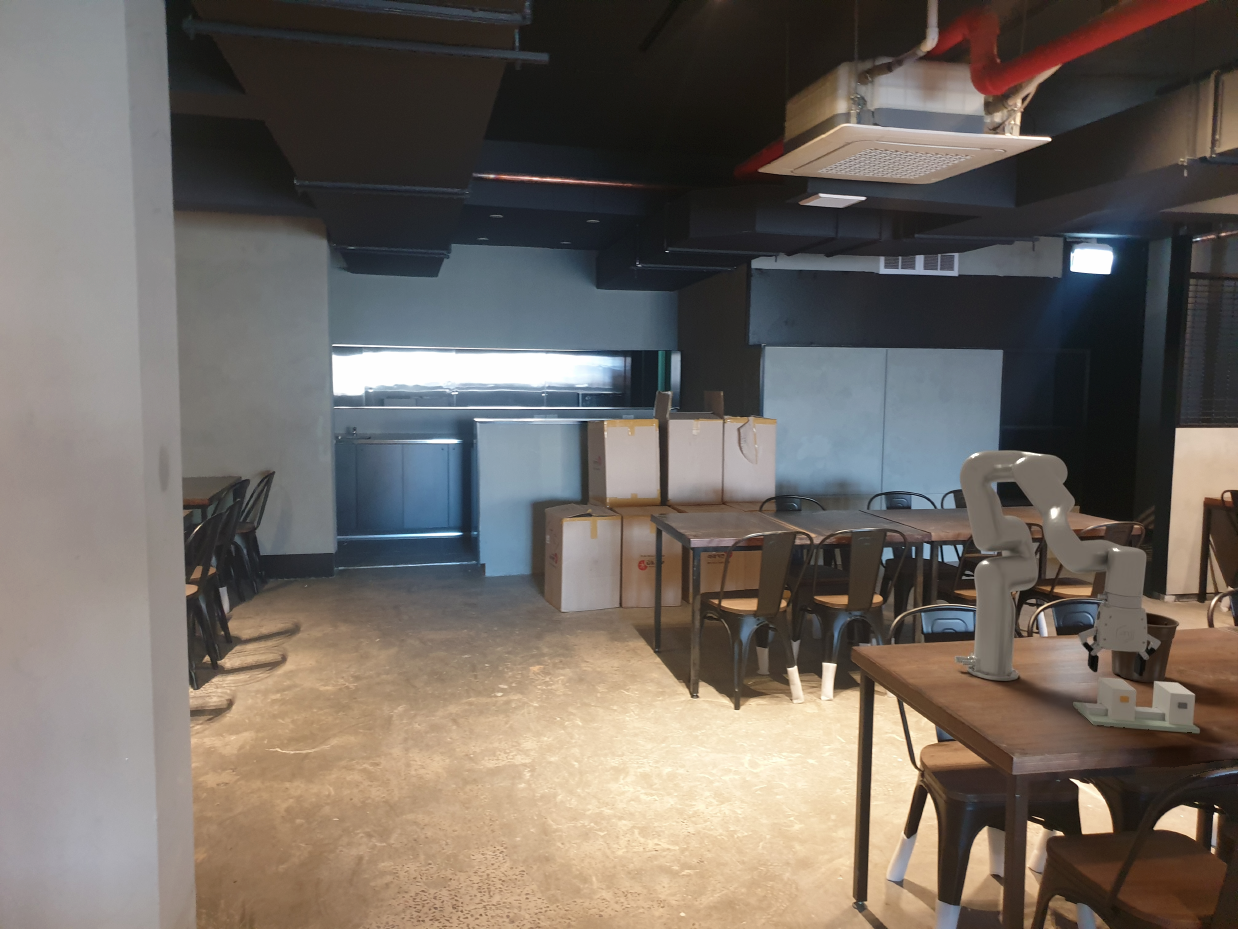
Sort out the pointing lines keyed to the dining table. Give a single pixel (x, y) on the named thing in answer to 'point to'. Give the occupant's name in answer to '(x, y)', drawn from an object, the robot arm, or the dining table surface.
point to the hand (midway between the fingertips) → (1115, 672)
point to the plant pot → (1157, 662)
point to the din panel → (1136, 722)
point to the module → (1117, 698)
